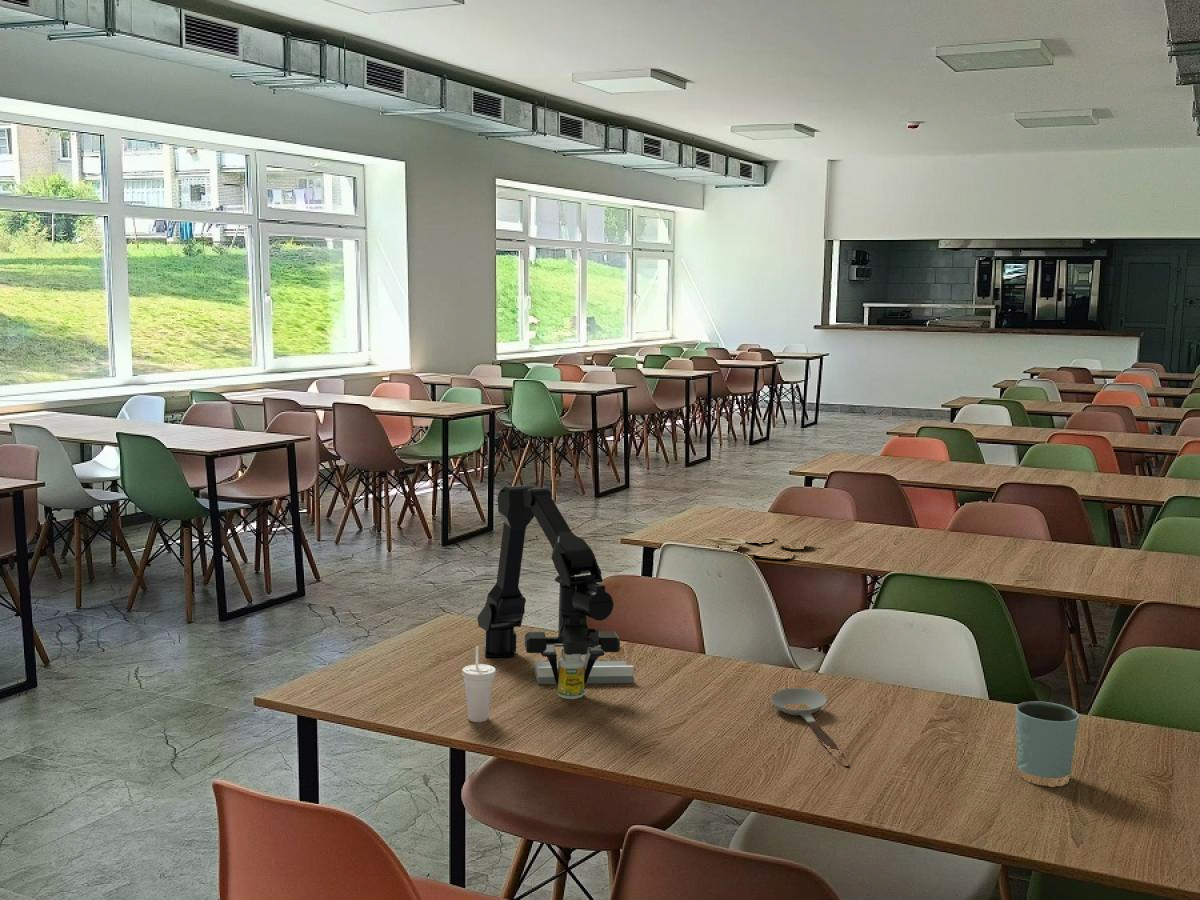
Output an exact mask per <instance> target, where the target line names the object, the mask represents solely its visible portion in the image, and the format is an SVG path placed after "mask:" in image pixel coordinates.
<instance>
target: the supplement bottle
mask: <svg viewBox="0 0 1200 900" xmlns="http://www.w3.org/2000/svg"><path fill="white" fill-rule="evenodd" d="M581 657H582V655H581V654H572V655H567V654H565V653H564V648H563V647H562V649H561V658H559V660H558V661H557V662H558V684H557V695H558V696H559V697H560V698H561V699H564V700H578V699H581V698H582V697H584V695H585V684H584V669H585V663H584V661H585V659H583V658H581Z"/></svg>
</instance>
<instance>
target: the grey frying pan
mask: <svg viewBox="0 0 1200 900" xmlns="http://www.w3.org/2000/svg"><path fill="white" fill-rule="evenodd" d="M827 700H828V699H827V696H826V695H825V694H824V693H821V692H819V691H818V690H815V689H810V688H800V687H791V688H785V689H781V690H777V691H775V692H774V693H773V694H771V696H770V701H771V703H772V704H773V705H774V706H775V707H776V708H777V709H779V710H780V711H782V712H783V713H785V714H787V713H788V714H787V715H790V714H791V716H795V715H800V717H802V718H803V719H804V720H805V722H806V723H807V724H808V725H809V726H810V727H811V728H812V730H813V731H815V732H814V733H815V735H816V737H817V736H818V737H819V739H820V740H821V741H822V742H824V744H826V745H827V746H830V748H831V749H836V750H839V749H840V748H839V747H838V748H839V749H838V748H837V746H838V745H837V744H836V742H835V741H834V740H833V739H832V738H831V737H830V736H829V735H828V733H826V732H825V730H823V728H821V726H820V724H819V723H818V722H817V721H816V719H815V718H814V717H813V715H812V714H814V713H816V712H817V711H819V710H821V709H822V707H824V706H825V704H826V703H827ZM787 704H802V705H807V706H808V707H810V708H811V709H809V710H792V709H786V708H783V707H784V706H785V705H787ZM818 737H817V738H818ZM819 739H818V740H819ZM820 740H819V741H820ZM839 753H840V752H839Z"/></svg>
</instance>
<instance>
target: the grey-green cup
mask: <svg viewBox="0 0 1200 900" xmlns="http://www.w3.org/2000/svg"><path fill="white" fill-rule="evenodd" d="M1015 722H1016V723H1015V724H1016V725H1015V726H1016V734H1017V736H1016V751H1017V757H1016V766H1017V765H1018V768H1019V769H1020V770H1022V771H1023V772H1025V773H1028V774H1031V775H1035V776H1040V777H1046V778H1062V777H1065V776H1067V775H1070V773H1071V774H1072V765H1073V763H1072V762H1073V760H1074V752H1075V748H1076V747H1075V746H1074V744H1075V742H1076V739H1077V734H1078V728H1079V723H1080V714H1079V713H1078V711H1076V710H1075V709H1074V708H1071V707H1069V706H1066V705H1063V704H1058V703H1055V702H1049V701H1048V702H1047V701H1038V700H1033V701H1032V700H1031V701H1023V702H1021V703H1018V704H1017V705H1016V706H1015ZM1070 776H1071V775H1070Z"/></svg>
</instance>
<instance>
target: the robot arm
mask: <svg viewBox="0 0 1200 900" xmlns="http://www.w3.org/2000/svg"><path fill="white" fill-rule="evenodd" d="M552 494H553V493H552V492H551V490H550V489H549V488H546V487H534V486H532V485H531V484H525V485H524V484H523V485H513V486H512V485H511V486H510V485H509V486H503V487H502V488H501V489H499V492H498V495H497V512H498V514H499V515H500V518H501V520H502V522H503V525H502V526H503V527H502V536H501V544H500V552H499V560H498V568H497V576H496V577H497V578H496V582H495V585H494V586H493V587H492V588H491V590H490V591H489V592H488V594H487V597H486V600H485V601H486V602H485V605H484V607H483V608H482V609H481V611H480V613H479V614H478V615H477V618H476V619H477V625H478V627H479V628H480V629H482V630H484V631H485V632H484V633H485V634H484V635H485V636H484V647H483V652H484V657H485V658H515V653H516V652H517V632H516V631H515V628H521V627H522V622H523V619H524V615H525V610H526V608H525V606H526V602H527V600H526V597H525V596H523V594H522V592H521V589H520V587H519V584H520V578H521V570H522V563H523V555H524V547H525V546H524V545H525V540H526V539H525V538H526V531H527V527H528V525H529V524H530V523H531V522H532V520H533V519H534V518H535V519H536V521H537V523H538V524H539V526H540V528H541V530H542V532H543V533H544V535H545V537H546V538H547V541H548V542H549V543H550V546H551V548H552V551H551V560H552V563H553V565H554V568H555V570H556V572H557V574H558V575H557V576H556V577H555V578H554V581H555V582H556V583H558V584H559V594H558V595H559V598H558V626H557V627H558V630H557V631H558V632H557V633H558V634H557V636H546V633H545V631H528V632H526V633H525V636H524V647H525V650H526V651H525V652H526V653H528V654H540V655H541V656H542V657H544V658H545V657H546V658H547V660H548V662H550V665H551V667H552V671H553V675H554V678H555V682H556V684H555V685H558V668H557V662H558V659H557V657H558V655H557V651H556V647H560V648H561V647H562V649H563V648H564V653H565V654H567V655H572V654H581V656H583V655H584V656H585V657H584V658H585V659H584V661H585V669H584V685H585V684H588V683H587V680H588V677H589V675H590V672H591V670H592V667H593V665H594V663H595V661H598V659H599V658H600V657H603V656H604V655H605V653H619V652H620V649H621V639H620V638H619V636H618V634H617V633H616V632H615V631H608V630H607V631H600V630H599V628H598V627H597V628H589V626H588V618H591V619H592V620H595V621H598V622H600V621H604V620H605V619H607V618H609V616H610V615H611V613H612V612H613V609H614V600H613V597H612V596H611V594H610V593H608V592H607V591H606V586H605V584H602V583H603V581H604V580H603V577H602V573H603V572H602V570H601V569H600V566H599V564H598V562H597V558H596V555H595V553H594V551H593V549H592V548H591V547H590V546H589V544H588V543H587V541H586V540H584V538H581V537H579V536H577V535H575V534H574V532H573V531H572V529H571V528H570V526H569V525H568V523H567V521H566V520H565V518H564V516H563V514H562V513H561V512H560V509H559V508H558V506H557V504H556V503H555V501H554V499H553V495H552Z"/></svg>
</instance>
